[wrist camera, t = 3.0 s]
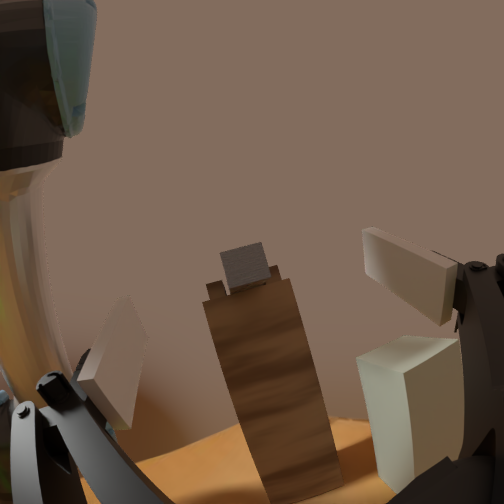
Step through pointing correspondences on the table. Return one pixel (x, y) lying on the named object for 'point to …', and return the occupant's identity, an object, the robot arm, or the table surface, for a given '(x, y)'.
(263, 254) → the bar
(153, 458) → the table surface
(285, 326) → the stand
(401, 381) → the rest block
